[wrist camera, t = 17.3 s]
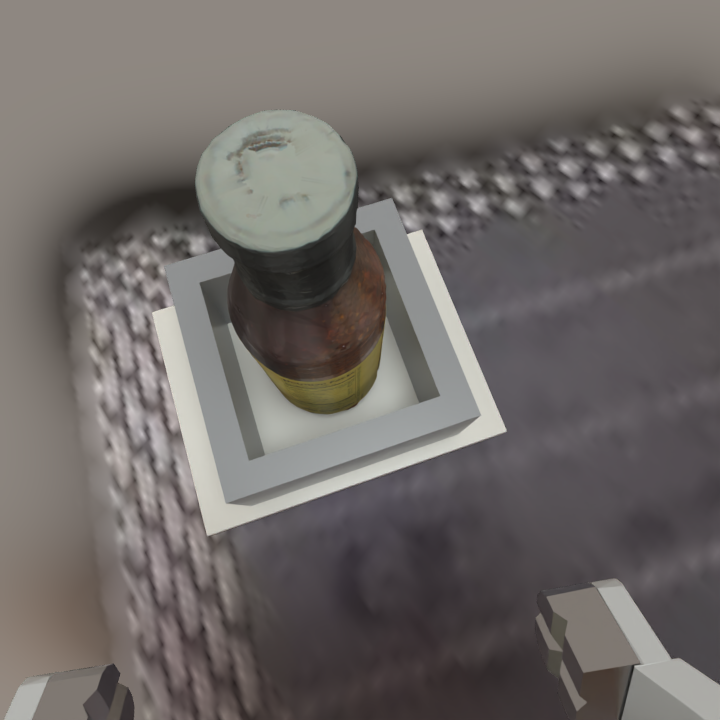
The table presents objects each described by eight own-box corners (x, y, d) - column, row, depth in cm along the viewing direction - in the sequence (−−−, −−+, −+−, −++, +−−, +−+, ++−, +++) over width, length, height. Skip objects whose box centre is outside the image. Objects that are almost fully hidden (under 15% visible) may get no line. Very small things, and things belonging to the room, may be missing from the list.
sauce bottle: (294, 309, 33) (207, 26, 14) (390, 335, 33) (436, 81, 13) (259, 407, 31) (104, 238, 12) (360, 438, 31) (364, 310, 12)
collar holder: (419, 239, 36) (434, 172, 29) (501, 434, 32) (540, 411, 25) (158, 319, 34) (108, 269, 27) (212, 535, 30) (169, 540, 23)
